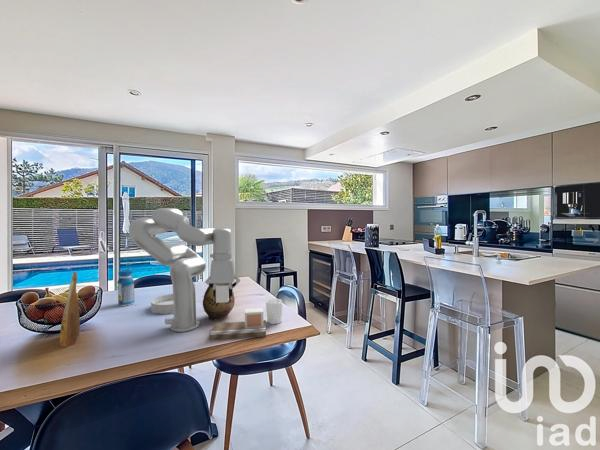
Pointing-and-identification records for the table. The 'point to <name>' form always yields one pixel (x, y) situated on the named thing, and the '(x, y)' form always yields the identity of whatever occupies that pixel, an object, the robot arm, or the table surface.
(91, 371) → the table surface
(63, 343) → the pancake mix bag
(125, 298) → the beverage bottle
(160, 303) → the dish
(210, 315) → the ceramic jug
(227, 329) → the grey rectangular tray
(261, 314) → the carton
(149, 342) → the table surface
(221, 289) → the turned carton
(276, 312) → the white cup
